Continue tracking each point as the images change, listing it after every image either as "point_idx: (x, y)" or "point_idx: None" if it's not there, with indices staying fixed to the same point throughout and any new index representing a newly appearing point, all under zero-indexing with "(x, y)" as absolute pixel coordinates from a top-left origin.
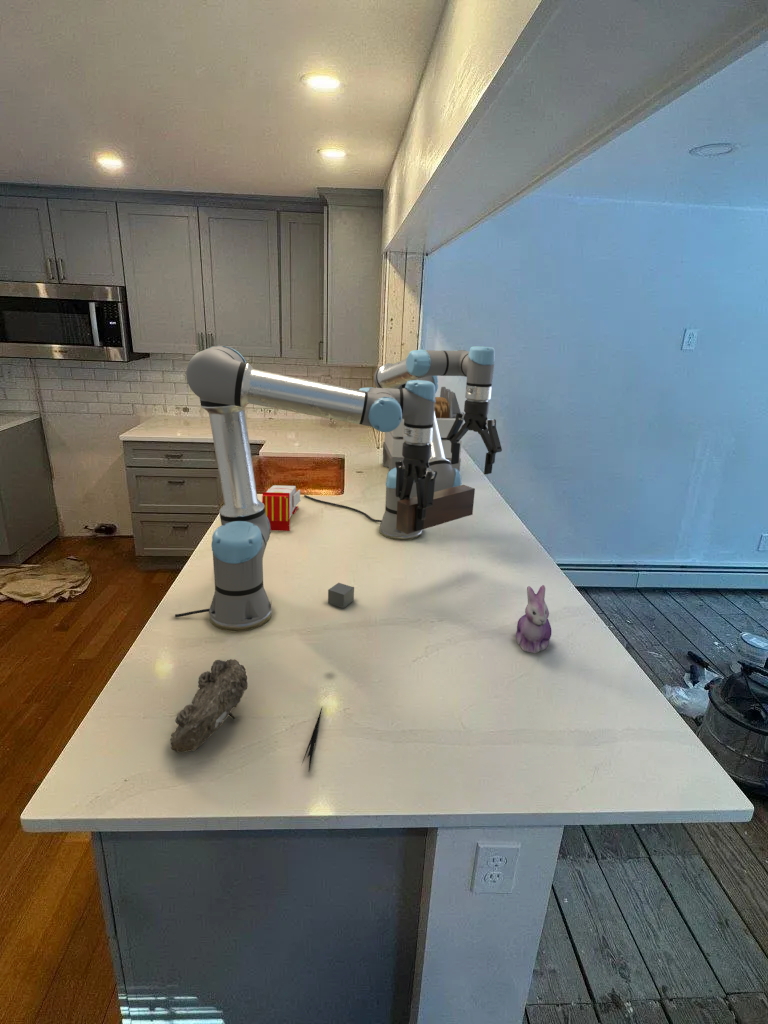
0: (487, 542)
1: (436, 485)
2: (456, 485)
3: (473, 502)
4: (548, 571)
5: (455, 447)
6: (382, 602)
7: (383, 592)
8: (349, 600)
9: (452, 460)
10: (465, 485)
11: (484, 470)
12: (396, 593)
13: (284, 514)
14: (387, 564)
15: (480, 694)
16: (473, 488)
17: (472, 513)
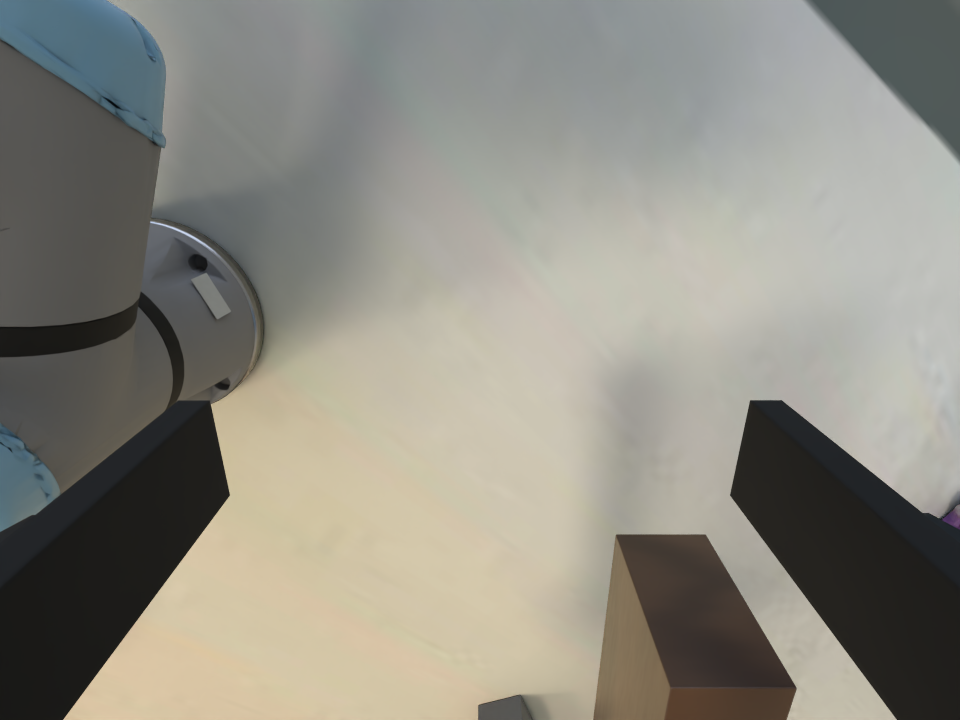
0: (467, 44)
1: (85, 265)
2: (116, 74)
3: (741, 596)
4: (850, 85)
5: (65, 679)
6: (571, 657)
7: (534, 630)
8: (527, 716)
9: (194, 526)
10: (696, 690)
11: (754, 524)
12: (560, 611)
13: None
14: (400, 529)
15: None
16: (787, 695)
17: (708, 540)
